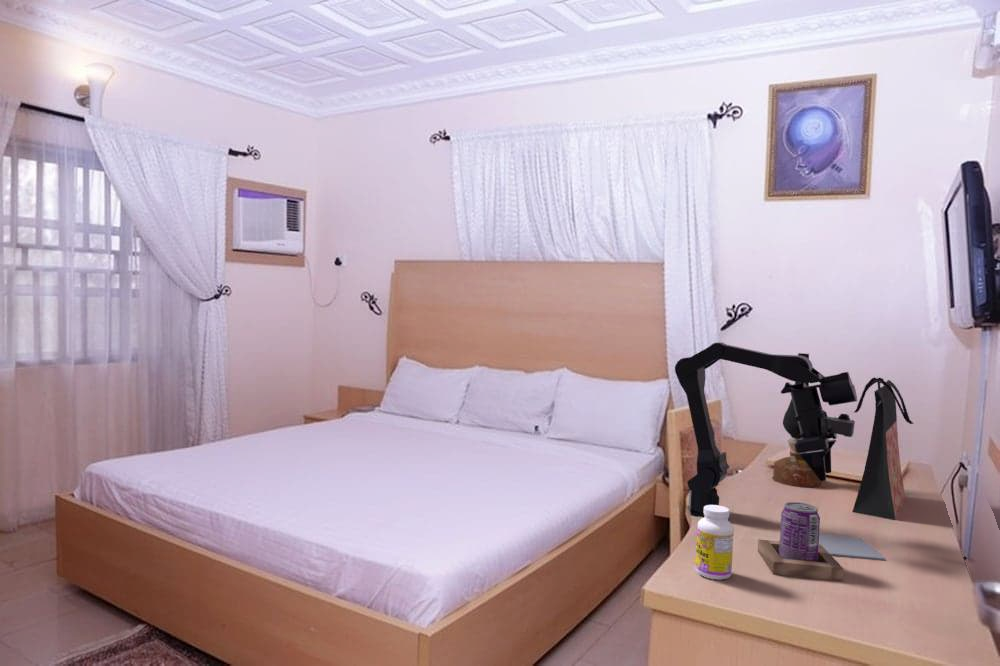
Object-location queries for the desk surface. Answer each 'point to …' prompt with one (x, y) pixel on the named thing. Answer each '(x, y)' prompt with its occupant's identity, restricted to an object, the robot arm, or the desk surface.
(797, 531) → the beverage can
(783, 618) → the desk surface
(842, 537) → the grey pad
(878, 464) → the gift bag
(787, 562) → the walnut collar
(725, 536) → the supplement bottle
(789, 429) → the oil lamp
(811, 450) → the robot arm
